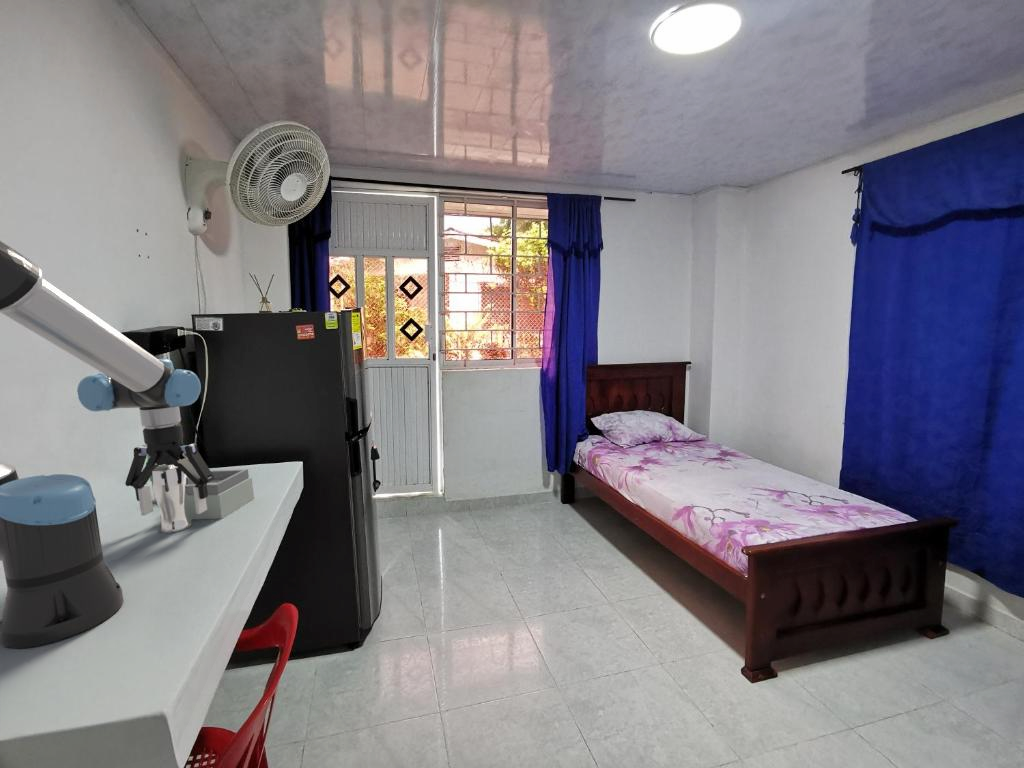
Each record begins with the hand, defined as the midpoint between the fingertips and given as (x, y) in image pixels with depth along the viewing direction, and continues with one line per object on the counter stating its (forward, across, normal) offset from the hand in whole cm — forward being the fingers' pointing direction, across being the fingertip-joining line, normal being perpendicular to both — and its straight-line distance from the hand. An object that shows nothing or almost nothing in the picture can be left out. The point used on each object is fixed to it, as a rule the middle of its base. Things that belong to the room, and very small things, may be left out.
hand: (174, 512), depth 118 cm
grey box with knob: (+4, +1, -12) cm, 13 cm away
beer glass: (+4, 0, 0) cm, 4 cm away
